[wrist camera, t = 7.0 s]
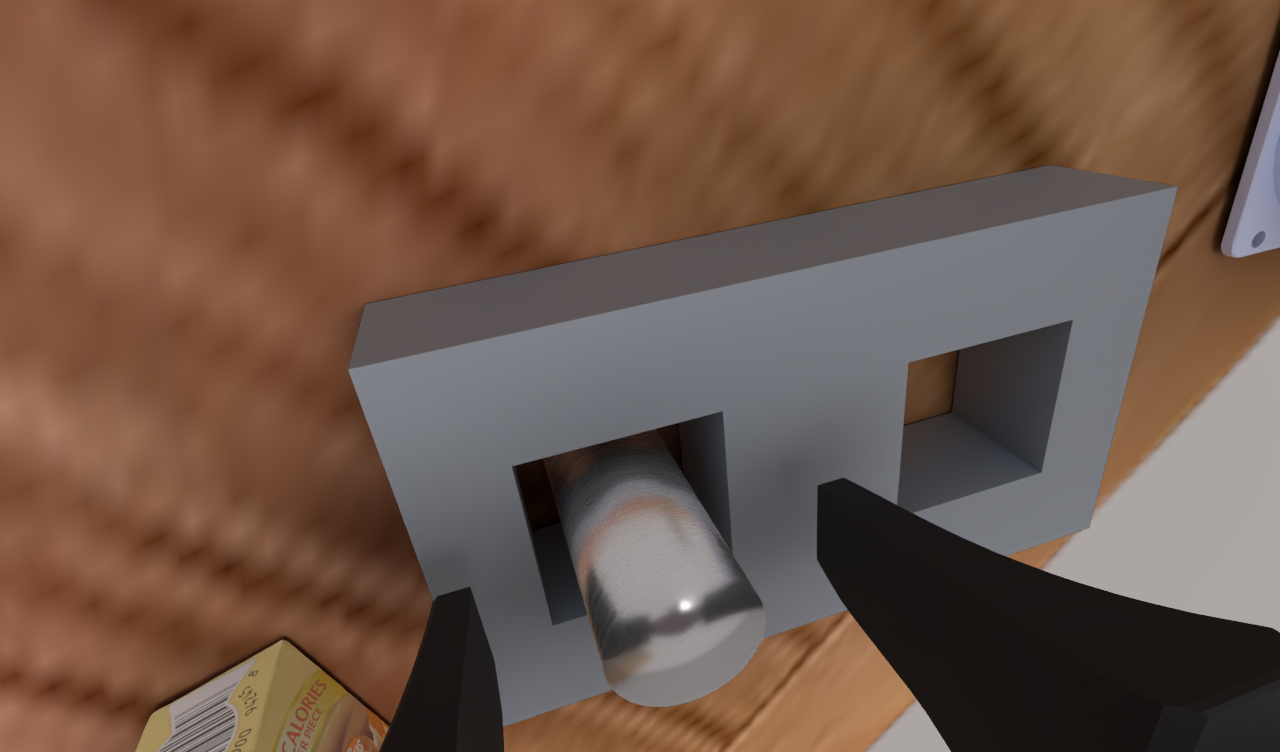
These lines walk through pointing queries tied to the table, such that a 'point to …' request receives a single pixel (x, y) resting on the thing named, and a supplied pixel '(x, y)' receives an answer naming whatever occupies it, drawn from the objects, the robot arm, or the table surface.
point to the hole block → (768, 391)
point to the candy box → (266, 711)
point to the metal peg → (653, 572)
